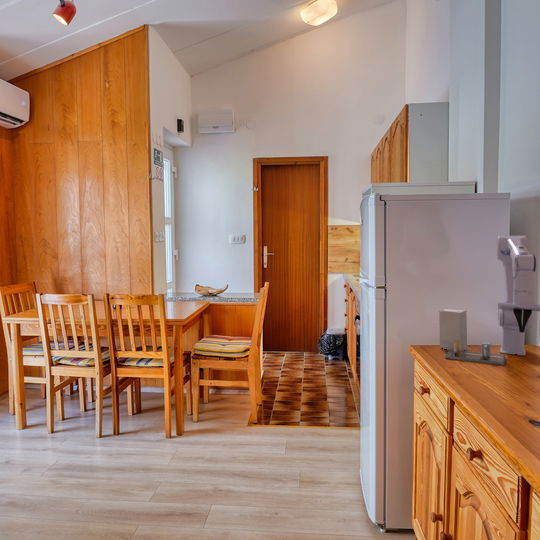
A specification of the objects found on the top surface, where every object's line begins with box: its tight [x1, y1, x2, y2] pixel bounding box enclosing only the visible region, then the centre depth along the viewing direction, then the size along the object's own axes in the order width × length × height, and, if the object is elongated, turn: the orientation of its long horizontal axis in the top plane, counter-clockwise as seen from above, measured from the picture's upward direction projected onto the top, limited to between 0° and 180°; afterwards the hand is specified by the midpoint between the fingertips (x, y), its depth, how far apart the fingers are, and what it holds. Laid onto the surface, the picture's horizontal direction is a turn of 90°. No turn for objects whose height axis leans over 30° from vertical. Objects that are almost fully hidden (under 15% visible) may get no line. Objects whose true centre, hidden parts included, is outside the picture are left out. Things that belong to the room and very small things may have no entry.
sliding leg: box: [481, 341, 491, 357], centre depth 156 cm, size 7×2×4 cm, turn 150°
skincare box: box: [438, 308, 468, 351], centre depth 171 cm, size 8×6×15 cm
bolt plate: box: [444, 340, 506, 366], centre depth 158 cm, size 11×18×5 cm, turn 60°
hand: (521, 332), depth 152 cm, fingers closed
